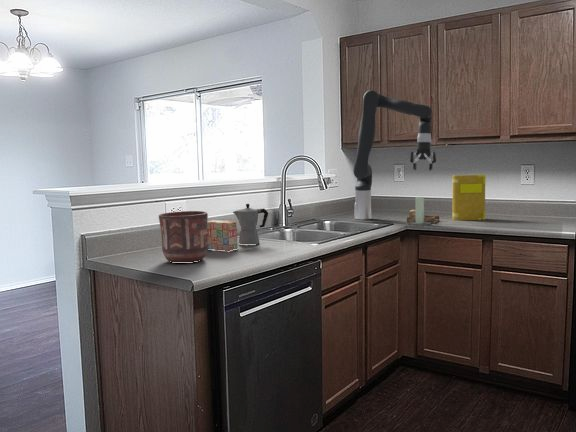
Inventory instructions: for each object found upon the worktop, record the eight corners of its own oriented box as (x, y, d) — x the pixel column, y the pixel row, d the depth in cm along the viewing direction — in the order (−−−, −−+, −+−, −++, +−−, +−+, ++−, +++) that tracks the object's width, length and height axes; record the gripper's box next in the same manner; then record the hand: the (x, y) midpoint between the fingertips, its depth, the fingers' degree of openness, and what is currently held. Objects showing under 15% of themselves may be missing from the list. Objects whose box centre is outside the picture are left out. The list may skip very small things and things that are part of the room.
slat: (415, 223, 276) (415, 197, 274) (417, 222, 279) (417, 196, 278) (422, 223, 274) (422, 197, 272) (424, 222, 277) (423, 196, 276)
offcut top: (409, 215, 286) (409, 211, 285) (412, 214, 293) (412, 209, 293) (416, 215, 284) (416, 211, 284) (419, 214, 292) (419, 209, 291)
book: (481, 218, 294) (482, 174, 291) (485, 219, 287) (485, 174, 284) (451, 219, 295) (451, 175, 293) (453, 220, 289) (454, 175, 286)
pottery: (203, 255, 204) (200, 209, 202) (215, 262, 188) (212, 213, 186) (158, 260, 197) (154, 213, 195) (166, 268, 181) (163, 217, 179)
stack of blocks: (188, 249, 219) (187, 220, 217) (198, 247, 224) (196, 219, 223) (229, 252, 208) (228, 222, 207) (238, 250, 214) (237, 220, 212)
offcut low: (408, 220, 286) (408, 215, 286) (412, 218, 294) (412, 214, 294) (415, 220, 284) (415, 215, 284) (419, 218, 292) (419, 214, 292)
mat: (408, 224, 275) (408, 223, 275) (412, 223, 282) (412, 222, 282) (427, 225, 271) (427, 224, 271) (431, 223, 278) (431, 222, 278)
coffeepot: (233, 246, 222) (231, 205, 220) (234, 243, 231) (233, 203, 229) (269, 245, 222) (267, 203, 220) (269, 242, 232) (267, 202, 230)
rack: (406, 222, 285) (406, 217, 285) (412, 220, 295) (412, 215, 295) (434, 223, 278) (434, 218, 277) (439, 220, 288) (439, 215, 288)
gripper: (409, 141, 293) (408, 170, 295) (435, 141, 286) (433, 170, 288) (413, 142, 300) (412, 170, 301) (438, 142, 293) (436, 170, 295)
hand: (422, 170), depth 295 cm, fingers open, 8 cm apart
